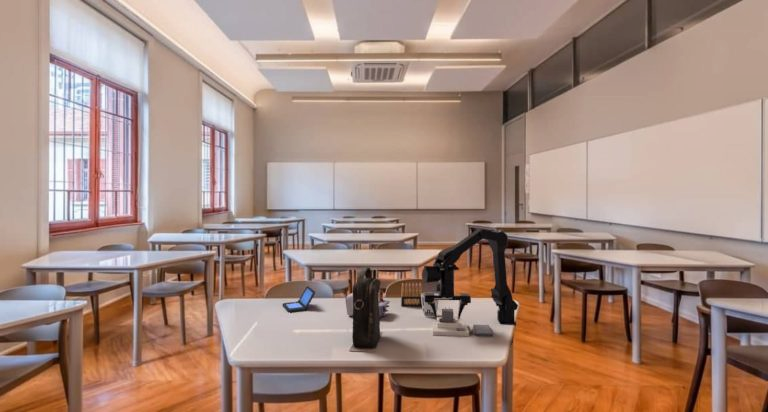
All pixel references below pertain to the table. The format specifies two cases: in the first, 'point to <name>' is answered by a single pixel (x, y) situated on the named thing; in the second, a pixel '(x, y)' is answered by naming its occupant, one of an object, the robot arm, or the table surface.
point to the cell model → (382, 305)
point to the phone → (483, 330)
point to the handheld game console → (300, 301)
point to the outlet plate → (450, 328)
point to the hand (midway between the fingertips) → (447, 318)
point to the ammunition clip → (411, 296)
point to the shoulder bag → (366, 312)
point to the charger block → (447, 315)
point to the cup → (428, 306)
